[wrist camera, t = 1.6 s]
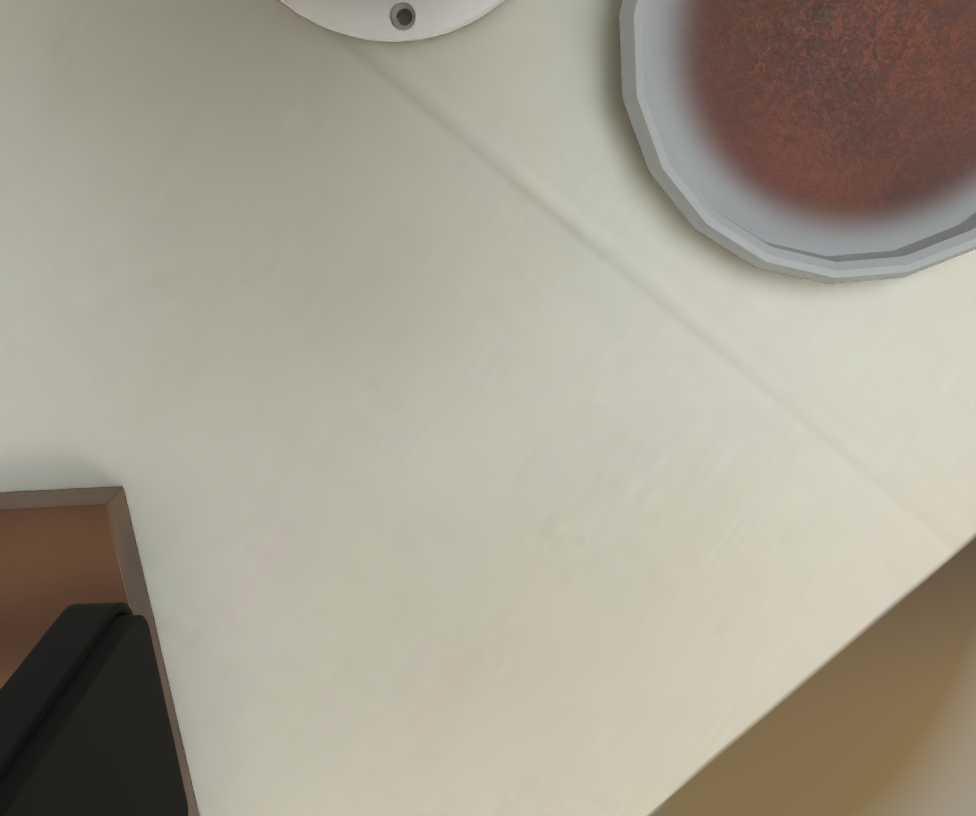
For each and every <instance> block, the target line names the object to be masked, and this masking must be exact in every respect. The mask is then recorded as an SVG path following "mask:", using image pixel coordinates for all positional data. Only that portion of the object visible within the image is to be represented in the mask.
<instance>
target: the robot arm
mask: <svg viewBox="0 0 976 816" xmlns="http://www.w3.org/2000/svg"><path fill="white" fill-rule="evenodd" d="M280 1H281V2H282V3H284V4H285V5H286V6H288V7H289V8H290V9H291V10H293V11H294V12H295V13H297V14H299V15H301V16H303V17H305V18H307V19H309V20H311V21H312V22H314V23H316V24H318V25H320V26H322V27H324V28H326V29H328V30H331V31H335V32H338V33H342V34H345V35H348V36H352V37H356V38H360V39H364V40H373V41H381V42H390V41H392V42H403V41H418V40H422V39H426V38H431V37H435V36H439V35H443V34H447V33H450V32H453V31H455V30H457V29H459V28H461V27H463V26H465V25H468V24H470V23H472V22H474V21H476V20H478V19H480V18H482V17H483V16H485V15H486V14H487V13H489V12H490V11H491V10H493V9H494V8H495V7H497V6H498V5H500V4H501V3H502V2H504V1H505V0H280ZM403 9H408V10H409V11H410V12H411V14H412V21H411V22H410V23H409V24H408V25H402V24H401V23H400V22H399V19H398V16H399V13H400V11H401V10H403ZM0 816H188V802H187V797H186V792H185V788H184V783H183V779H182V774H181V770H180V765H179V761H178V756H177V751H176V747H175V742H174V738H173V733H172V729H171V724H170V720H169V715H168V710H167V706H166V701H165V697H164V692H163V688H162V683H161V678H160V674H159V669H158V665H157V660H156V656H155V651H154V647H153V642H152V637H151V633H150V628H149V625H148V622H147V620H146V619H145V617H144V616H142V615H133V613H132V610H131V609H130V607H129V606H128V605H127V604H125V603H123V602H111V603H78V604H71V605H69V606H68V607H67V608H66V609H64V610H63V612H62V613H61V614H60V615H59V617H58V618H57V619H56V620H55V622H54V623H53V624H52V625H51V627H50V628H49V629H48V630H47V632H46V633H45V634H44V635H43V637H42V638H41V639H40V640H39V642H38V643H37V644H36V645H35V647H34V648H33V649H32V651H31V652H30V653H29V654H28V656H27V657H26V658H25V659H24V661H23V662H22V663H21V664H20V666H19V667H18V668H17V669H16V671H15V672H14V673H13V674H12V676H11V677H10V678H9V679H8V681H7V682H6V683H5V684H4V686H3V687H2V688H1V689H0Z"/></svg>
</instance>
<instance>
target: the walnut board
mask: <svg viewBox="0 0 976 816" xmlns="http://www.w3.org/2000/svg"><path fill="white" fill-rule="evenodd" d="M111 602H123V603H125V604H127V605H128V606H129V607H130V609H131V610H132V613H133V615H142V616H144V617H145V619H146V620H147V622H148V625H149V628H150V633H151V637H152V642H153V647H154V651H155V656H156V660H157V665H158V669H159V674H160V678H161V683H162V688H163V692H164V697H165V701H166V706H167V710H168V715H169V720H170V724H171V729H172V733H173V738H174V742H175V747H176V751H177V756H178V761H179V765H180V770H181V774H182V779H183V783H184V788H185V792H186V797H187V802H188V816H199V814H198V809H197V805H196V801H195V796H194V792H193V788H192V783H191V779H190V775H189V770H188V766H187V762H186V757H185V753H184V749H183V745H182V740H181V736H180V732H179V727H178V723H177V719H176V714H175V710H174V706H173V701H172V697H171V693H170V688H169V684H168V680H167V675H166V671H165V667H164V662H163V658H162V654H161V650H160V645H159V641H158V637H157V632H156V628H155V624H154V619H153V615H152V611H151V606H150V602H149V598H148V593H147V589H146V585H145V580H144V576H143V572H142V567H141V563H140V559H139V555H138V550H137V546H136V542H135V537H134V533H133V529H132V524H131V520H130V516H129V511H128V507H127V503H126V498H125V494H124V490H123V487H103V488H84V489H65V490H45V491H26V492H7V493H0V689H1V688H2V687H3V686H4V684H5V683H6V682H7V681H8V679H9V678H10V677H11V676H12V674H13V673H14V672H15V671H16V669H17V668H18V667H19V666H20V664H21V663H22V662H23V661H24V659H25V658H26V657H27V656H28V654H29V653H30V652H31V651H32V649H33V648H34V647H35V645H36V644H37V643H38V642H39V640H40V639H41V638H42V637H43V635H44V634H45V633H46V632H47V630H48V629H49V628H50V627H51V625H52V624H53V623H54V622H55V620H56V619H57V618H58V617H59V615H60V614H61V613H62V612H63V610H64V609H66V608H67V607H68V606H69V605H71V604H78V603H111Z"/></svg>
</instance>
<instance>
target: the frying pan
mask: <svg viewBox="0 0 976 816" xmlns="http://www.w3.org/2000/svg"><path fill="white" fill-rule="evenodd" d="M619 23H620V48H621V73H622V97H623V101H624V104H625V107H626V110H627V112H628V115H629V118H630V121H631V123H632V126H633V129H634V132H635V134H636V137H637V140H638V143H639V145H640V148H641V151H642V154H643V156H644V159H645V162H646V165H647V167H648V170H649V173H650V174H651V175H652V176H653V178H654V179H655V180H656V181H657V183H658V184H659V185H660V186H661V188H662V189H663V190H664V191H665V193H666V194H667V195H668V196H669V198H670V199H671V200H672V201H673V203H674V204H675V205H676V206H677V208H678V209H679V210H680V211H681V213H682V214H683V215H684V216H685V218H686V219H687V220H688V221H689V223H690V224H691V225H692V226H693V228H694V229H695V230H697V231H698V232H700V233H701V234H703V235H705V236H706V237H708V238H709V239H711V240H713V241H714V242H716V243H717V244H719V245H721V246H722V247H724V248H725V249H727V250H729V251H730V252H732V253H733V254H735V255H737V256H738V257H740V258H741V259H743V260H745V261H746V262H748V263H749V264H751V265H753V266H754V267H756V268H760V269H764V270H768V271H773V272H777V273H781V274H785V275H790V276H794V277H798V278H803V279H807V280H811V281H816V282H820V283H824V284H833V283H845V282H857V281H869V280H881V279H893V278H902V277H905V276H907V275H910V274H913V273H915V272H918V271H920V270H923V269H925V268H928V267H931V266H933V265H936V264H938V263H941V262H944V261H946V260H949V259H951V258H954V257H956V256H959V255H962V254H964V253H967V252H969V251H972V250H975V249H976V0H623V1H622V5H621V9H620V13H619Z"/></svg>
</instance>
